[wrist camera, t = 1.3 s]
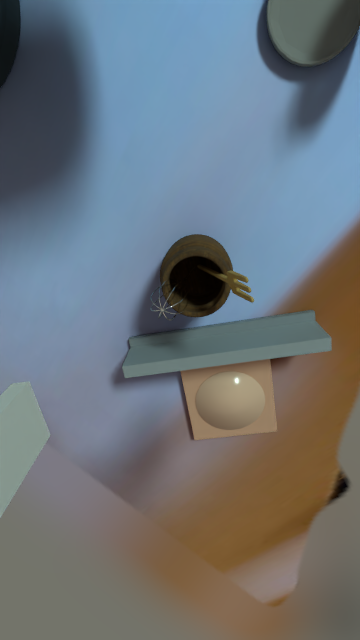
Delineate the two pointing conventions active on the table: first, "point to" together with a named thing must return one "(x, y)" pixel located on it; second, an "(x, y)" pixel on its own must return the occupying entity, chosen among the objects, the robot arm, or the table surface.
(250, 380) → the coaster
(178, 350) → the low wall
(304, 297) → the table surface
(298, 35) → the pocket watch
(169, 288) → the utensil holder
